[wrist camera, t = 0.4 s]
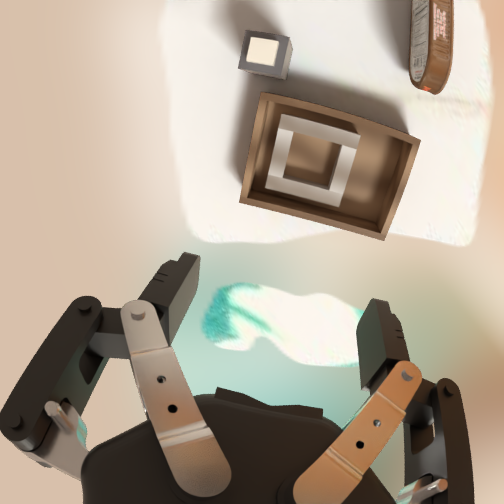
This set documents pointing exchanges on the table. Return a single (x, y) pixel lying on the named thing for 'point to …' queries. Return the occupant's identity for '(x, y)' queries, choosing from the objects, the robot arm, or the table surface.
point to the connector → (266, 54)
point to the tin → (431, 44)
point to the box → (326, 165)
